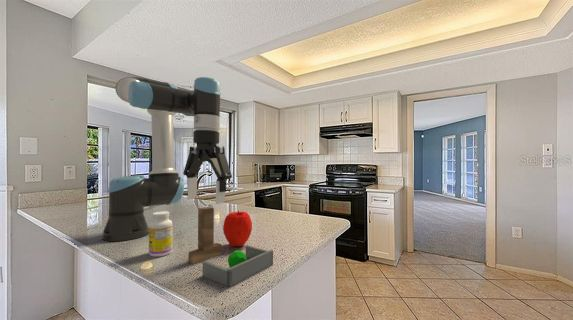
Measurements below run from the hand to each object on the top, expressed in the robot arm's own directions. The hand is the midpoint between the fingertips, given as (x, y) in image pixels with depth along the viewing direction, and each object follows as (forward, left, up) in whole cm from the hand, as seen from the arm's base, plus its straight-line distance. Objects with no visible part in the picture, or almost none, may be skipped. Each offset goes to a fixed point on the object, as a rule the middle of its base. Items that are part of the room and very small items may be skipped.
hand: (205, 200), depth 76 cm
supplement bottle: (-7, -14, -17) cm, 23 cm away
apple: (-9, +10, -17) cm, 22 cm away
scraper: (0, 0, -17) cm, 17 cm away
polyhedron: (+11, +9, -17) cm, 22 cm away
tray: (+11, +10, -17) cm, 23 cm away
